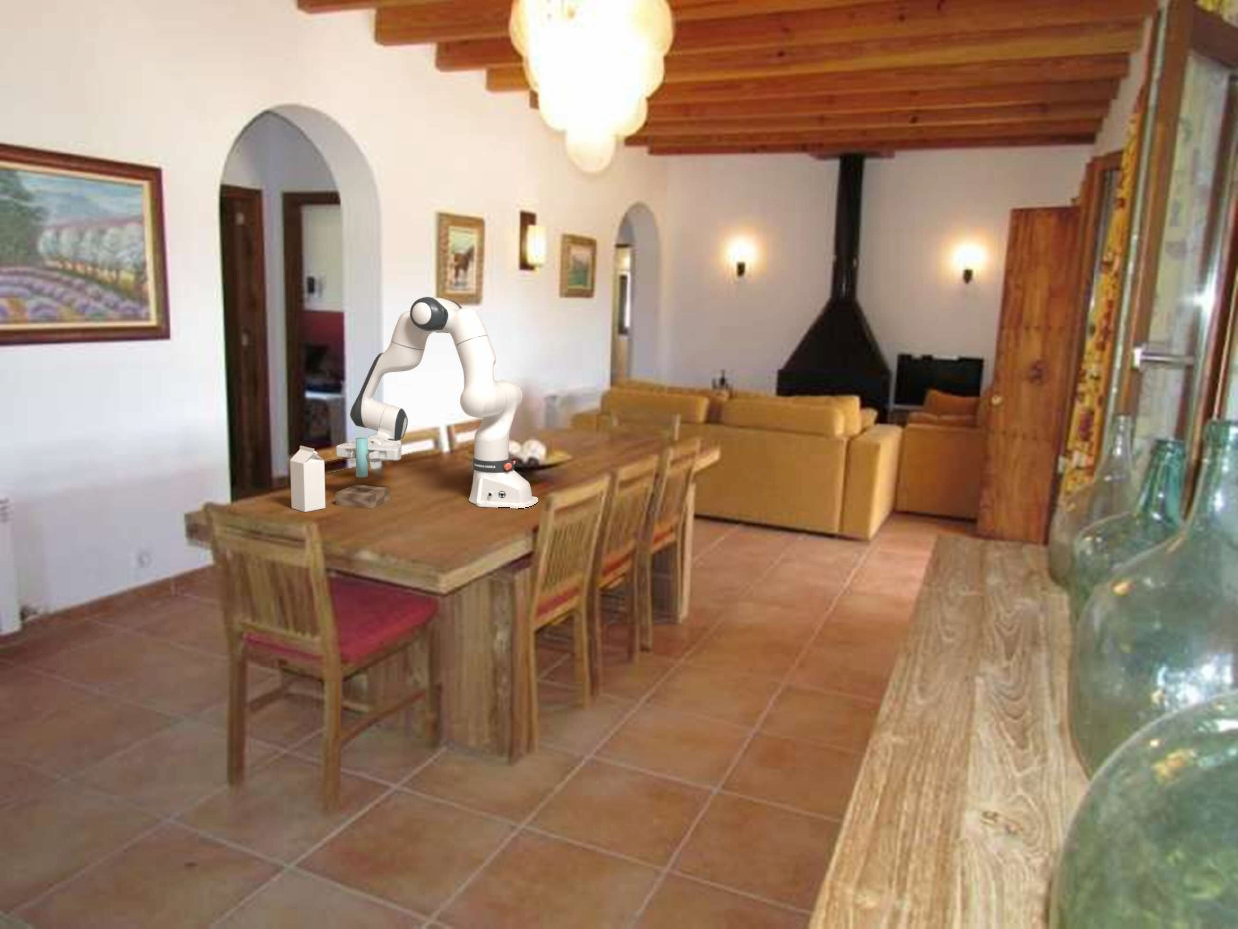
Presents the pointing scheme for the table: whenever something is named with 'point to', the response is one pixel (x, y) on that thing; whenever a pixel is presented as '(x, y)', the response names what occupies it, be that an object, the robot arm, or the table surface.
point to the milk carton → (307, 480)
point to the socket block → (362, 496)
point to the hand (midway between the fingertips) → (360, 456)
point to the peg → (361, 457)
